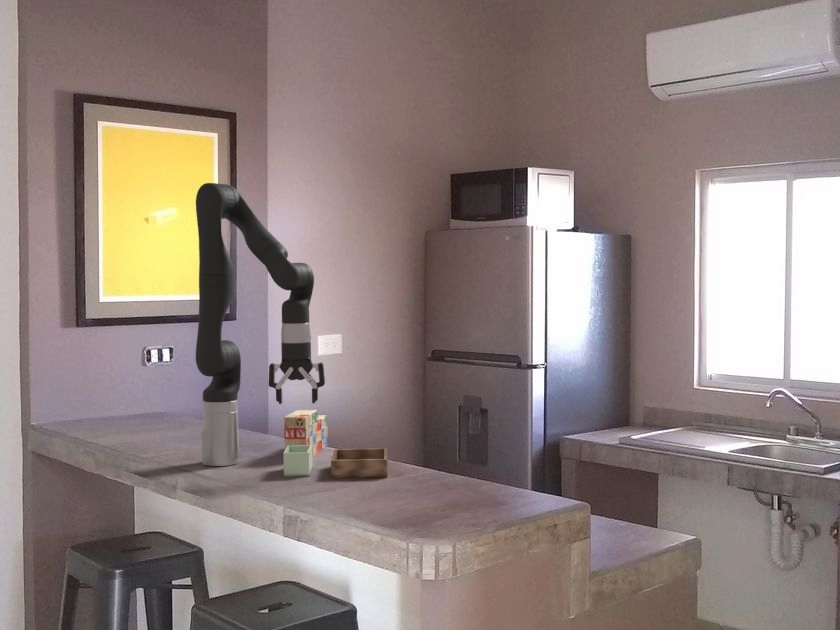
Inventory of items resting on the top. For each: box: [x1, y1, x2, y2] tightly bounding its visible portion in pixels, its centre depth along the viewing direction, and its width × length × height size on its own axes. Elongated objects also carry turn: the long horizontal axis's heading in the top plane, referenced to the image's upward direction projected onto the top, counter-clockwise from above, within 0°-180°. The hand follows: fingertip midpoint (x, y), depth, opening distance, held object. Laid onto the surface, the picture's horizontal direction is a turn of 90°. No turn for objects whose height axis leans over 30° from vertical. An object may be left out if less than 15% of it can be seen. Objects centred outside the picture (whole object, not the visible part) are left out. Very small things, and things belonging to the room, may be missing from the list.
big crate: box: [330, 447, 389, 479], centre depth 245 cm, size 14×15×4 cm
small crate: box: [283, 445, 313, 478], centre depth 245 cm, size 6×10×6 cm, turn 2°
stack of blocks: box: [283, 409, 329, 457], centre depth 270 cm, size 21×6×12 cm, turn 170°
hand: (297, 403), depth 245 cm, fingers open, 8 cm apart
